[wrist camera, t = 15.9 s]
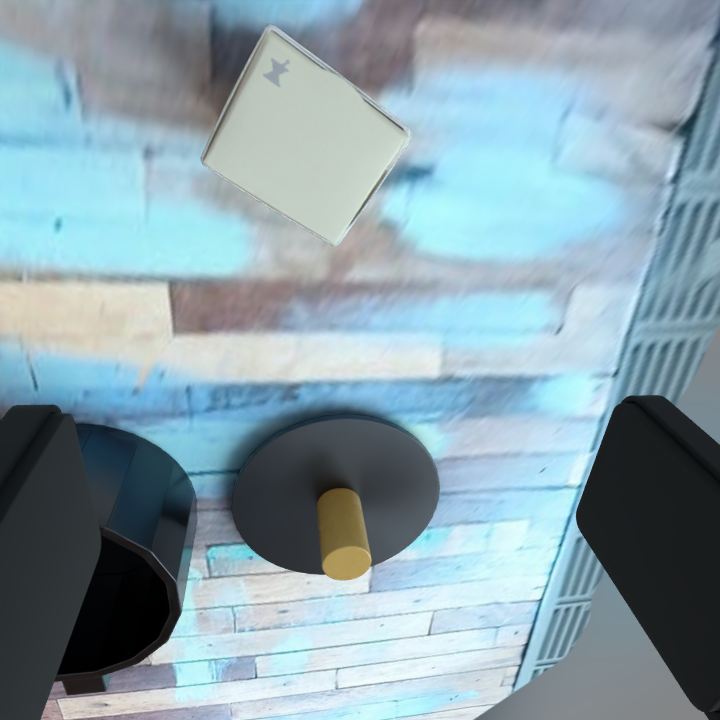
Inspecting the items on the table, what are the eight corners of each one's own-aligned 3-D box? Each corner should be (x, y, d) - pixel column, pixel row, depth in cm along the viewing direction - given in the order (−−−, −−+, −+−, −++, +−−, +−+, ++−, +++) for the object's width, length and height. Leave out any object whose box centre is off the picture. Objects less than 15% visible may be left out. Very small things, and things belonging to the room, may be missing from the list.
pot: (18, 606, 38) (-35, 718, 31) (-67, 387, 29) (-165, 480, 22) (207, 592, 40) (194, 694, 33) (183, 382, 31) (158, 466, 24)
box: (220, 121, 25) (185, 157, 15) (266, 32, 23) (261, 9, 14) (315, 185, 27) (338, 253, 17) (364, 107, 25) (418, 133, 16)
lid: (238, 569, 39) (232, 647, 34) (226, 411, 32) (217, 479, 27) (423, 556, 41) (444, 628, 36) (449, 405, 35) (480, 467, 29)
